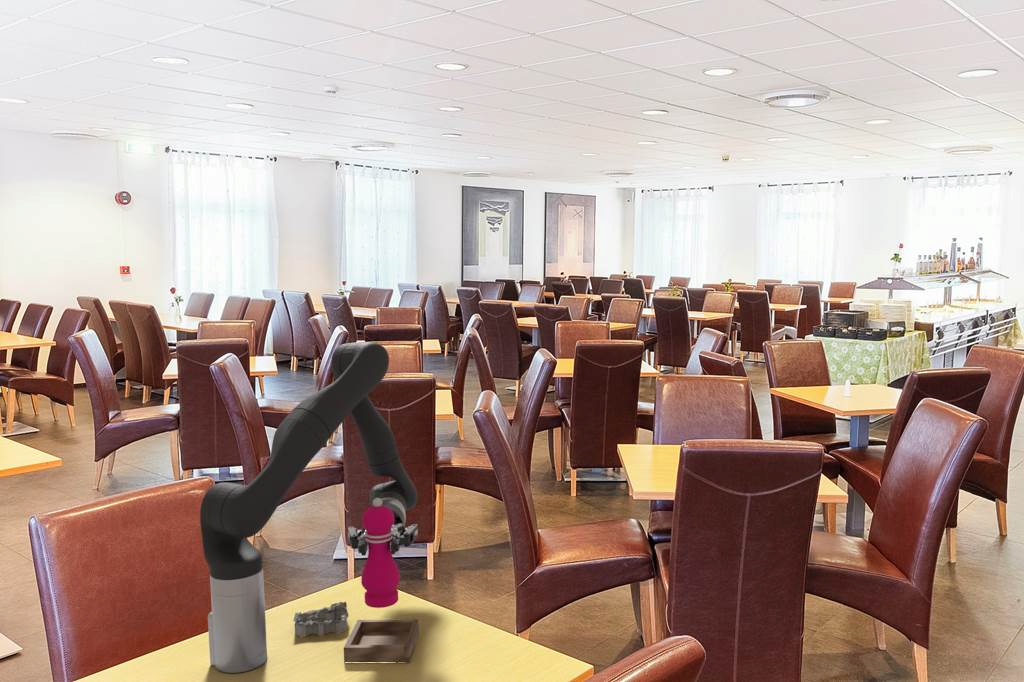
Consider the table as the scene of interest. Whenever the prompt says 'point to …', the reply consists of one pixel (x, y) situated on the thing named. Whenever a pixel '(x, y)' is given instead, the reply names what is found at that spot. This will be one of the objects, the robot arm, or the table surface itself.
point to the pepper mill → (379, 557)
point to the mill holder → (382, 641)
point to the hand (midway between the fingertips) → (378, 549)
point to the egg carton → (313, 620)
